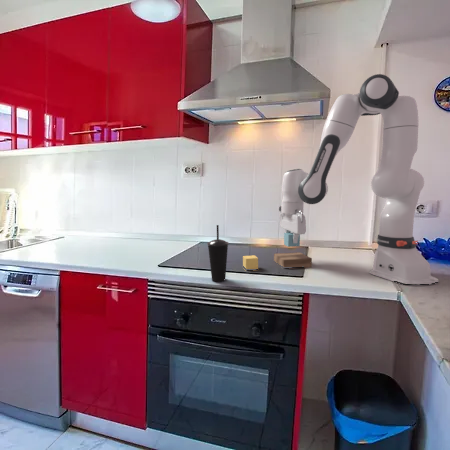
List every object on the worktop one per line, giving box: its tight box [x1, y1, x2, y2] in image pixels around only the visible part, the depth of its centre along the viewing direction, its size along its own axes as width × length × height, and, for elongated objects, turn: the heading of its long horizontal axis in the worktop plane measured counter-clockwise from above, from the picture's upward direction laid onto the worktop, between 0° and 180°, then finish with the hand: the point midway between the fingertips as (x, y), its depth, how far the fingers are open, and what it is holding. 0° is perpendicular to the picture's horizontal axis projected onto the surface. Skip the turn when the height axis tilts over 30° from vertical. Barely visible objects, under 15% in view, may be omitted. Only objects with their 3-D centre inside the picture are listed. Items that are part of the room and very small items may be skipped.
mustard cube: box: [242, 254, 259, 270], centre depth 129 cm, size 5×5×5 cm
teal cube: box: [283, 232, 301, 248], centre depth 134 cm, size 5×5×5 cm
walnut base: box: [273, 251, 312, 268], centre depth 135 cm, size 12×12×4 cm
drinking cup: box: [206, 224, 230, 283], centre depth 114 cm, size 8×8×20 cm
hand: (291, 241), depth 134 cm, fingers closed on teal cube, 5 cm apart
